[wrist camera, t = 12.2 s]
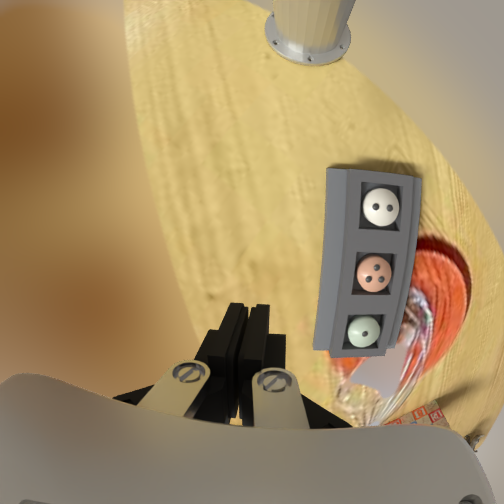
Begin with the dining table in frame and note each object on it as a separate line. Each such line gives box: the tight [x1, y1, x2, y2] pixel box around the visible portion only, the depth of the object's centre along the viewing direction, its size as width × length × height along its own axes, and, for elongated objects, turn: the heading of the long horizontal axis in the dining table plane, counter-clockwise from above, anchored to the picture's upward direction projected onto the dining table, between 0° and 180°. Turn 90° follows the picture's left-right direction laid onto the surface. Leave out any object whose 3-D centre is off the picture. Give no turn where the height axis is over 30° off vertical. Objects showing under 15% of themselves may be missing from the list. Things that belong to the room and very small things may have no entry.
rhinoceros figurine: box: [465, 435, 484, 452], centre depth 43 cm, size 8×14×15 cm
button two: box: [361, 188, 399, 226], centre depth 32 cm, size 5×5×2 cm
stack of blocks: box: [385, 400, 451, 429], centre depth 39 cm, size 21×6×12 cm, turn 118°
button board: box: [313, 168, 422, 358], centre depth 36 cm, size 27×14×4 cm, turn 179°
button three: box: [355, 254, 391, 292], centre depth 35 cm, size 5×5×2 cm
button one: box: [347, 314, 380, 347], centre depth 37 cm, size 5×5×2 cm
